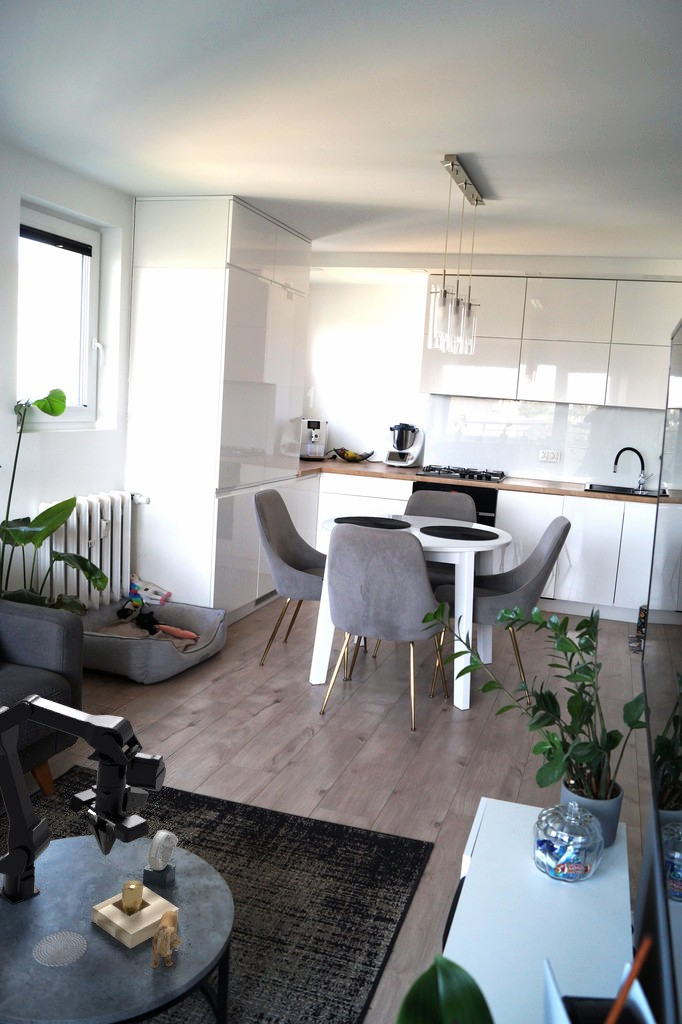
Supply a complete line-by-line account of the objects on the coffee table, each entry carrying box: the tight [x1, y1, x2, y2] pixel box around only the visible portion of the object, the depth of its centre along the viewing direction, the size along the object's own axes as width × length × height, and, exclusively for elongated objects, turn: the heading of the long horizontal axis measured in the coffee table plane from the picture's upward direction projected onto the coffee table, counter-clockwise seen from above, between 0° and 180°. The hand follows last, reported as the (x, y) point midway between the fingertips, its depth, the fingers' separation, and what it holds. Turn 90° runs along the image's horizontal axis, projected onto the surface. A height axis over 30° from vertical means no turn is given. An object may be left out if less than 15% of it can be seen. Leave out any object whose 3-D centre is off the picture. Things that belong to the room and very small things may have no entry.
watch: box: [142, 829, 179, 889], centre depth 188 cm, size 6×8×11 cm
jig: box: [91, 885, 180, 949], centre depth 173 cm, size 12×12×3 cm
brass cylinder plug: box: [121, 880, 144, 916], centre depth 174 cm, size 4×4×7 cm
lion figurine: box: [150, 910, 183, 969], centre depth 164 cm, size 15×5×9 cm, turn 12°
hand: (105, 854), depth 175 cm, fingers closed
